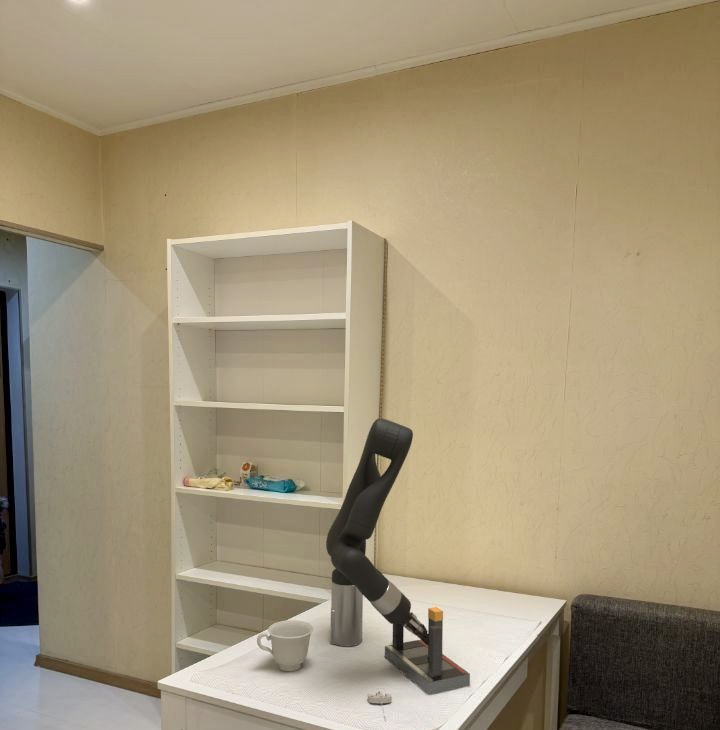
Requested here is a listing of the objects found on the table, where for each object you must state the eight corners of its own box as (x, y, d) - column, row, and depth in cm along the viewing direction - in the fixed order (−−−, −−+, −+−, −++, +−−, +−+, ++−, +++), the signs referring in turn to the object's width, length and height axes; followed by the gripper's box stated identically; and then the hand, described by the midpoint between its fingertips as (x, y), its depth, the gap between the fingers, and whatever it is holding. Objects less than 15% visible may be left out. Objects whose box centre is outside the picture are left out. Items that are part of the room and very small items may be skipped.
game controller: (385, 695, 152) (386, 684, 153) (407, 719, 142) (408, 707, 142) (364, 699, 150) (364, 688, 150) (385, 724, 140) (385, 712, 140)
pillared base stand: (428, 695, 152) (429, 632, 152) (384, 657, 173) (385, 601, 173) (469, 685, 157) (470, 624, 158) (422, 650, 178) (422, 596, 178)
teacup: (252, 661, 169) (252, 624, 169) (305, 654, 174) (306, 617, 174) (261, 681, 157) (262, 641, 158) (318, 673, 163) (319, 634, 163)
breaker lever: (434, 659, 164) (434, 612, 165) (427, 654, 167) (428, 608, 168) (442, 657, 165) (443, 611, 166) (435, 652, 168) (436, 606, 169)
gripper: (411, 597, 156) (452, 639, 161) (386, 581, 168) (425, 621, 173) (391, 622, 154) (434, 664, 158) (368, 604, 166) (408, 644, 170)
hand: (429, 641), depth 166 cm, fingers closed
